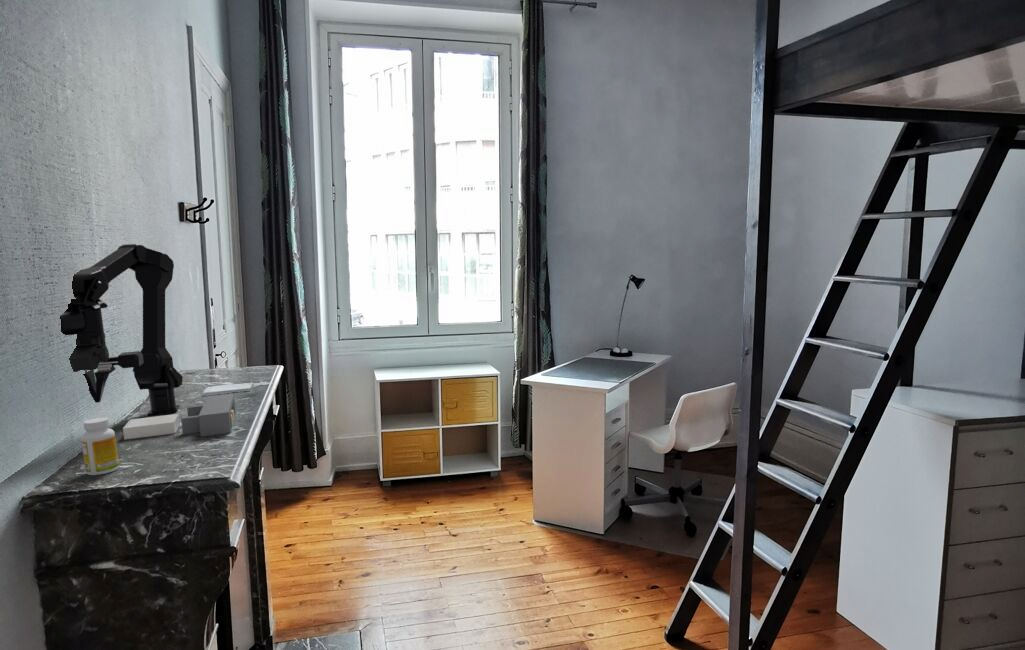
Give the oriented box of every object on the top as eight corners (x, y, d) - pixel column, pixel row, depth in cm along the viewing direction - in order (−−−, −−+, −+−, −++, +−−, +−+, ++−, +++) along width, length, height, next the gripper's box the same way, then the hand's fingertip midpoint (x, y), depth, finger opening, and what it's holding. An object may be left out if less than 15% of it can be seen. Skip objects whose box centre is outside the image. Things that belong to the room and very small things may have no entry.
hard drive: (253, 382, 199) (207, 386, 196) (250, 387, 191) (202, 392, 188) (254, 387, 199) (208, 391, 196) (251, 393, 191) (203, 397, 188)
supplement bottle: (125, 465, 130) (119, 415, 129) (108, 475, 125) (101, 423, 124) (98, 466, 130) (91, 416, 129) (79, 476, 125) (72, 424, 124)
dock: (191, 417, 165) (189, 398, 164) (235, 411, 168) (233, 393, 168) (180, 439, 146) (178, 418, 146) (230, 432, 149) (228, 412, 149)
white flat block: (131, 430, 156) (130, 419, 155) (179, 424, 159) (178, 413, 158) (124, 439, 148) (122, 428, 148) (175, 433, 151) (173, 422, 151)
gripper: (24, 340, 137) (36, 416, 139) (129, 331, 143) (139, 404, 145) (42, 333, 147) (52, 404, 149) (139, 325, 153) (148, 394, 155)
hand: (98, 402), depth 149 cm, fingers closed
